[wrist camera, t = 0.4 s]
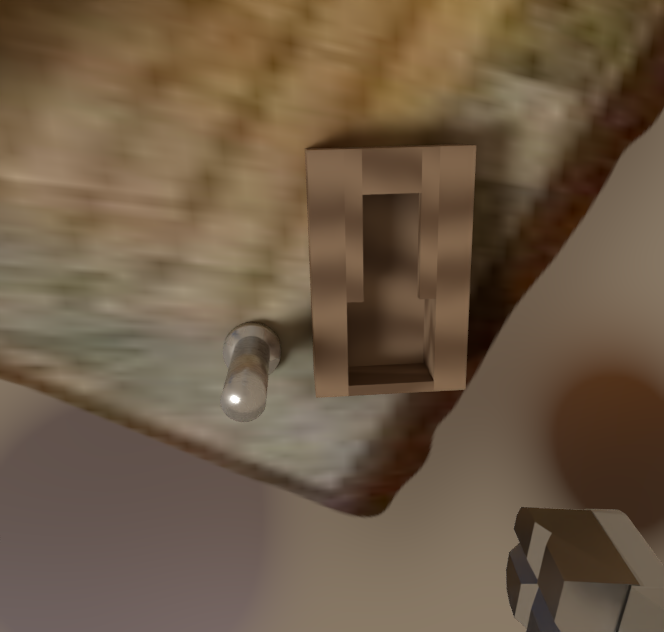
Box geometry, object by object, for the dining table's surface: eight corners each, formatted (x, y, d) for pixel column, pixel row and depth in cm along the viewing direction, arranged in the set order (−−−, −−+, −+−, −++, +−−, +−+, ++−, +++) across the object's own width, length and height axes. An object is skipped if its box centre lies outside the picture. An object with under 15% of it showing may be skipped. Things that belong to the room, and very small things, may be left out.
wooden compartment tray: (449, 366, 60) (465, 389, 55) (313, 373, 59) (316, 397, 54) (457, 144, 53) (476, 145, 48) (305, 148, 52) (306, 150, 47)
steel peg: (221, 323, 57) (204, 371, 45) (279, 320, 57) (276, 367, 46) (226, 376, 59) (211, 435, 47) (282, 373, 59) (280, 431, 47)
